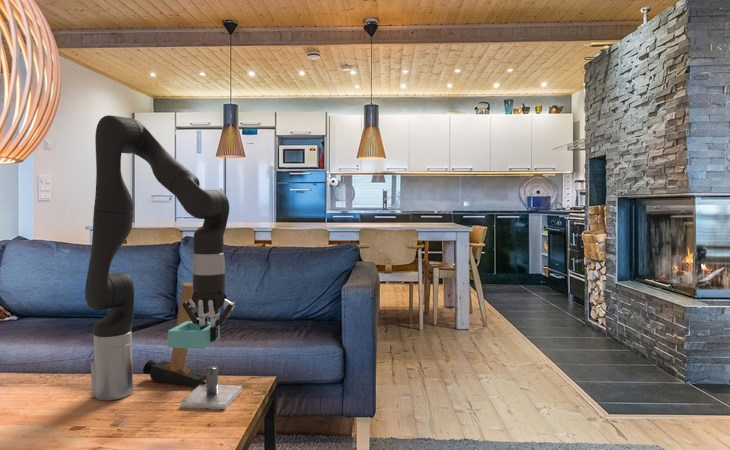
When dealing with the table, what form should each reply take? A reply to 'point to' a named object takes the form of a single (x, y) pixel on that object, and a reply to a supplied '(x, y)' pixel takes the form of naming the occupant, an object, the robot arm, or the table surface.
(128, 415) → the table surface
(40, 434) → the table surface
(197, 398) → the stand
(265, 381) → the table surface
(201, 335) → the collar
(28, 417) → the table surface
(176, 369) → the hammer
